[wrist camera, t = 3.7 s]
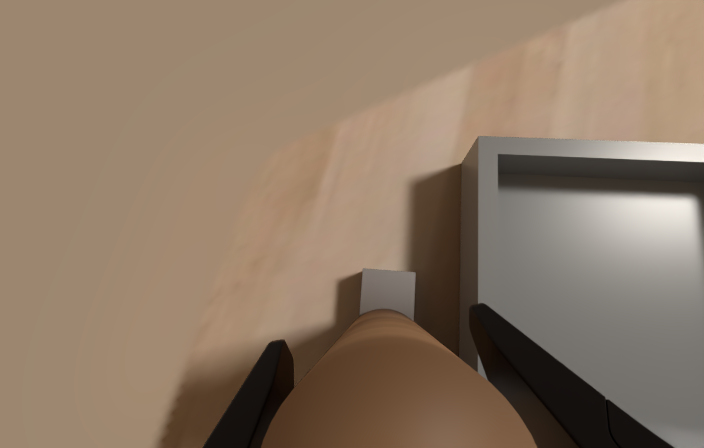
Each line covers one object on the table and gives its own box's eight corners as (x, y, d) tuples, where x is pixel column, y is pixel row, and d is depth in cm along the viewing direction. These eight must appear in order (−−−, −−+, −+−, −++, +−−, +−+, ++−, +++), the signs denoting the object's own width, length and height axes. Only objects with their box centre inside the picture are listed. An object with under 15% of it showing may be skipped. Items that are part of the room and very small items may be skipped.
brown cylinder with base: (419, 431, 15) (573, 960, 3) (340, 421, 15) (205, 863, 3) (424, 275, 16) (544, 226, 4) (352, 269, 16) (286, 211, 5)
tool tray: (784, 476, 13) (899, 528, 10) (457, 436, 15) (477, 472, 12) (734, 174, 16) (815, 147, 13) (461, 162, 17) (478, 136, 14)
